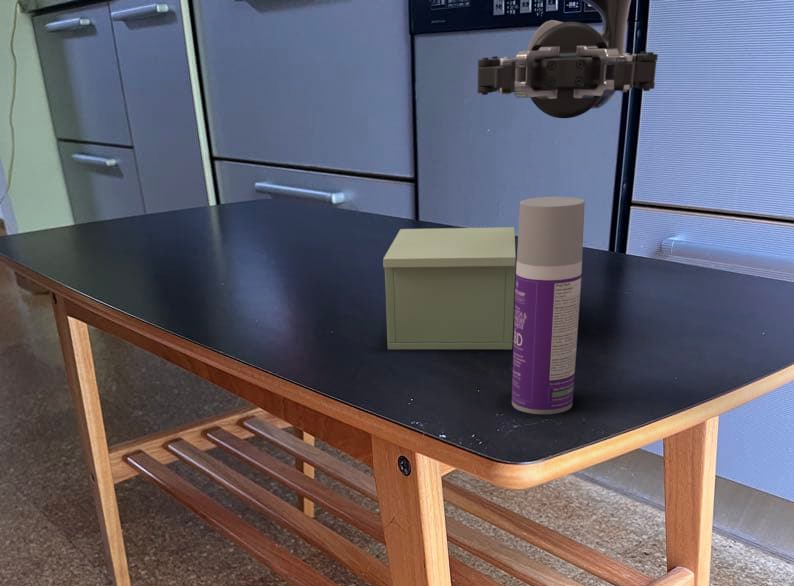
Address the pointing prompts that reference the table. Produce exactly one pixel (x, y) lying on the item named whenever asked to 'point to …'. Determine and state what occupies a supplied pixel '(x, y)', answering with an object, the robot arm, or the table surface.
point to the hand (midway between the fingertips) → (563, 76)
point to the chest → (450, 307)
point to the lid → (452, 248)
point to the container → (547, 303)
